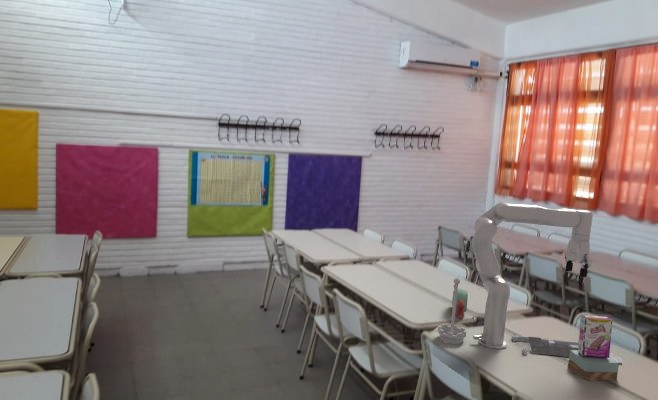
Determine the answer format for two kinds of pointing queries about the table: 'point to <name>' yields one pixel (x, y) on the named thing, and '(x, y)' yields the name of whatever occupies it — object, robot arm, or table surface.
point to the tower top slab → (593, 363)
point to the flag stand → (452, 324)
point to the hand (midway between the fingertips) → (575, 273)
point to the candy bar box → (595, 336)
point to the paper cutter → (553, 346)
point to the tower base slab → (591, 373)
